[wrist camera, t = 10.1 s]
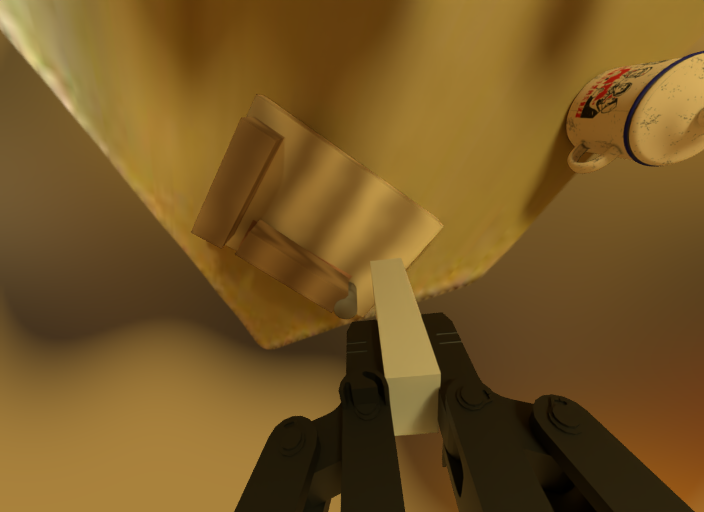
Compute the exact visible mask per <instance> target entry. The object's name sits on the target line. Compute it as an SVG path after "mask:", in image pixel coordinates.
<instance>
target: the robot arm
mask: <svg viewBox="0 0 704 512" xmlns="http://www.w3.org/2000/svg"><path fill="white" fill-rule="evenodd" d="M370 266H371V275H372V285H373V295H374V304H375V313H376V320H368V321H357V322H352V323H351V325H350V327H349V329H348V331H347V362H346V376H345V377H344V378H343V380H342V381H341V383H340V387H339V394H340V399H341V403H340V405H339V406H338V407H337V408H336V409H335V410H334V411H332V412H331V413H329V414H327V415H325V416H323V417H320V418H318V419H316V420H313V421H311V420H310V419H308V418H305V417H303V416H292V417H290V418H288V419H285V420H283V421H282V422H281V423H280V424H278V425H277V426H276V427H275V428H274V430H273V432H272V433H271V435H270V436H269V438H268V440H267V442H266V444H265V447H264V449H263V451H262V453H261V455H260V457H259V459H258V462H257V464H256V466H255V468H254V470H253V472H252V475H251V477H250V479H249V481H248V483H247V485H246V487H245V490H244V492H243V494H242V496H241V498H240V501H239V502H238V505H237V507H236V509H235V511H234V512H328V510H329V505H330V502H331V498H333V497H335V496H337V495H338V494H340V493H341V512H405V507H404V501H403V494H402V486H401V478H400V471H399V464H398V457H397V449H396V442H395V436H397V435H411V434H423V433H437V432H438V428H439V427H440V431H441V434H442V437H443V450H442V465H443V467H446V465H447V468H448V472H449V475H450V480H451V483H452V487H453V491H454V495H455V498H456V502H457V506H458V509H459V512H694V511H693V510H692V509H691V508H690V507H689V506H688V505H687V504H686V503H685V502H684V501H683V500H681V499H680V498H679V497H678V496H677V495H676V494H675V493H674V492H673V491H672V490H671V489H670V488H669V487H668V486H667V485H665V484H664V483H663V482H662V481H661V480H660V479H659V478H658V477H657V476H656V475H655V474H654V473H653V472H652V471H651V470H650V469H648V468H647V467H646V466H645V465H644V464H643V463H642V462H641V461H640V460H639V459H638V458H637V457H636V456H635V455H633V453H631V452H630V451H629V450H628V449H627V448H626V447H625V446H624V445H623V444H622V443H621V442H620V441H619V440H618V439H617V438H615V437H614V436H613V435H612V434H611V433H610V432H609V431H608V430H607V429H606V428H605V427H604V426H603V425H602V424H601V423H600V422H598V421H597V420H596V419H595V418H594V417H593V416H592V415H591V414H590V413H589V412H588V411H587V410H585V409H584V408H583V407H581V406H580V405H579V404H577V403H576V402H574V401H572V400H570V399H567V398H565V397H562V396H556V395H544V396H541V397H539V398H538V399H537V400H535V403H534V404H531V403H526V402H522V401H517V400H512V399H508V398H505V397H502V396H500V395H498V394H496V393H494V392H493V391H491V389H490V388H488V387H487V386H486V385H484V384H483V383H482V381H481V380H480V378H479V377H478V375H477V373H476V371H475V369H474V367H473V364H472V363H471V360H470V358H469V356H468V354H467V352H466V350H465V348H464V346H463V343H461V339H460V337H459V335H458V334H457V331H456V329H455V327H454V325H453V323H452V321H451V320H450V319H449V318H448V317H447V316H445V315H444V314H443V313H432V314H420V311H419V308H418V305H417V302H416V300H415V297H414V294H413V291H412V288H411V285H410V282H409V279H408V276H407V273H406V270H405V267H404V264H403V262H402V259H401V258H394V259H385V260H376V261H370Z"/></svg>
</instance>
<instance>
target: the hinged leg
mask: <svg viewBox="0 0 704 512" xmlns="http://www.w3.org/2000/svg"><path fill="white" fill-rule="evenodd" d="M235 255H237V256H239V257H240V258H242V259H244V260H245V261H247V262H248V263H250V264H252V265H253V266H255V267H257V268H258V269H260V270H262V271H263V272H265V273H267V274H268V275H270V276H272V277H273V278H275V279H276V280H278V281H280V282H281V283H283V284H285V285H286V286H288V287H290V288H291V289H293V290H295V291H296V292H298V293H300V294H301V295H303V296H305V297H306V298H308V299H309V300H311V301H313V302H314V303H316V304H318V305H319V306H321V307H323V308H324V309H326V310H328V311H329V312H331V313H332V312H333V311H334V312H335V314H336V315H337V316H338V317H339V318H342V319H350V318H352V317H354V316H355V315H356V314H357V288H356V286H355V285H354V284H353V283H351V282H349V278H348V277H346V276H345V275H343V274H342V273H340V272H339V271H337V270H336V269H334V268H333V267H331V266H330V265H328V264H327V263H325V262H324V261H322V260H321V259H319V258H318V257H316V256H315V255H313V254H312V253H310V252H309V251H307V250H306V249H304V248H303V247H301V246H300V245H298V244H297V243H295V242H294V241H292V240H291V239H289V238H288V237H286V236H285V235H283V234H282V233H280V232H279V231H277V230H276V229H274V228H273V227H271V226H270V225H268V224H267V223H265V222H264V221H262V220H261V219H260V220H259V221H258V222H257V224H256V225H255V226H254V227H253V228H252V230H251V231H250V232H249V234H248V235H247V237H246V238H245V240H244V241H243V243H242V244H241V246H240V247H239V249H238V250H237V251H236V253H235Z"/></svg>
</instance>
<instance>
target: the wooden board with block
mask: <svg viewBox="0 0 704 512" xmlns="http://www.w3.org/2000/svg"><path fill="white" fill-rule="evenodd" d="M260 219H261V220H262V221H264V222H265V223H267V224H268V225H270V226H271V227H273V228H274V229H276V230H277V231H279V232H280V233H282V234H283V235H285V236H286V237H288V238H289V239H291V240H292V241H294V242H295V243H297V244H298V245H300V246H301V247H303V248H304V249H306V250H307V251H309V252H310V253H312V254H313V255H315V256H316V257H318V258H319V259H321V260H322V261H324V262H325V263H327V264H328V265H330V266H331V267H333V268H334V269H336V270H337V271H339V272H340V273H342V274H343V275H345V276H346V277H348V278H349V282H351V283H353V284H354V285H355V286H356V288H357V315H359V316H361V317H364V316H365V314H366V313H367V312H368V311H369V310H370V309H371V308H372V307H373V305H374V295H373V285H372V275H371V266H370V261H376V260H385V259H394V258H401V259H402V262H403V264H404V267H405V269H406V268H407V267H408V266H409V265H410V264H411V263H412V262H413V260H414V259H415V258H416V257H417V256H418V255H419V254H420V253H421V251H422V250H423V249H424V248H425V247H426V246H427V245H428V244H429V242H430V241H431V240H432V239H433V238H434V237H435V236H436V235H437V234H438V232H439V231H440V230H441V229H442V228H443V227H444V226H443V225H442V223H441V222H440V221H439V220H438V218H436V217H435V216H434V215H432V214H431V213H429V212H428V211H426V210H425V209H424V208H422V207H421V206H419V205H418V204H417V203H415V202H414V201H412V200H411V199H410V198H408V197H407V196H405V195H404V194H403V193H401V192H400V191H398V190H397V189H395V188H394V187H393V186H391V185H390V184H388V183H387V182H386V181H384V180H383V179H381V178H380V177H379V176H377V175H376V174H374V173H373V172H372V171H370V170H369V169H367V168H366V167H364V166H363V165H362V164H360V163H359V162H357V161H356V160H355V159H353V158H352V157H350V156H349V155H348V154H346V153H345V152H343V151H342V150H340V149H339V148H338V147H336V146H335V145H333V144H332V143H331V142H329V141H328V140H326V139H325V138H324V137H322V136H321V135H319V134H318V133H317V132H315V131H314V130H312V129H311V128H309V127H308V126H307V125H305V124H304V123H302V122H301V121H300V120H298V119H297V118H295V117H294V116H293V115H291V114H290V113H288V112H287V111H286V110H284V109H283V108H281V107H280V106H278V105H277V104H276V103H274V102H273V101H271V100H270V99H269V98H267V97H266V96H264V95H258V94H256V96H255V98H254V101H253V103H252V105H251V107H250V110H249V112H248V114H247V116H246V117H244V118H241V119H240V122H239V124H238V126H237V128H236V131H235V133H234V135H233V138H232V140H231V142H230V144H229V147H228V149H227V151H226V154H225V156H224V158H223V160H222V163H221V165H220V167H219V170H218V172H217V174H216V176H215V179H214V181H213V183H212V185H211V188H210V190H209V192H208V195H207V197H206V199H205V201H204V204H203V206H202V208H201V211H200V213H199V215H198V217H197V220H196V222H195V224H194V227H193V229H192V231H191V233H193V234H194V235H196V236H198V237H200V238H202V239H204V240H206V241H208V242H210V243H212V244H214V245H215V246H217V247H219V248H222V247H223V246H224V245H227V246H228V247H230V248H232V249H234V250H236V251H237V250H238V249H239V247H240V246H241V244H242V243H243V241H244V240H245V238H246V237H247V235H248V234H249V232H250V231H251V230H252V228H253V227H254V226H255V225H256V224H257V222H258V221H259V220H260Z"/></svg>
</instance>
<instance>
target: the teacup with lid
mask: <svg viewBox="0 0 704 512" xmlns="http://www.w3.org/2000/svg"><path fill="white" fill-rule="evenodd" d="M566 130H567V135H568V138H569V140H570V142H571V143H572V144H573V145H574V146H575V148H574V149H573V150H572V151H571V152H570V154H569V156H568V159H567V163H568V165H569V167H570V168H571V169H572V170H573V171H574V172H577V173H589V172H593V171H596V170H598V169H601V168H602V167H604V166H606V165H608V164H609V163H610V162H612V161H613V160H614V159H616V158H617V157H618V158H623V159H629V160H634V161H635V162H637V163H639V164H642V165H646V166H663V165H670V164H674V163H678V162H681V161H683V160H686V159H688V158H690V157H692V156H694V155H696V154H697V153H699V152H701V151H702V150H704V51H701V52H697V53H693V54H690V55H688V56H685V57H683V58H677V59H671V60H664V61H658V62H651V63H645V64H638V65H632V66H625V67H618V68H614V69H611V70H608V71H606V72H604V73H602V74H600V75H598V76H597V77H595V78H594V79H593V80H591V81H590V82H589V83H588V84H587V85H586V86H585V87H584V88H583V89H582V90H581V91H580V92H579V94H578V95H577V97H576V98H575V100H574V101H573V103H572V105H571V107H570V110H569V113H568V116H567V122H566ZM585 152H590V153H595V154H601V155H600V156H598V157H597V158H595V159H593V160H591V161H588V162H584V163H578V160H579V158H580V157H581V156H582V155H583V154H584V153H585Z"/></svg>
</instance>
